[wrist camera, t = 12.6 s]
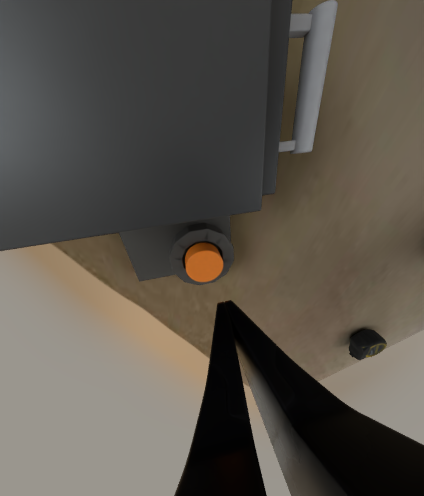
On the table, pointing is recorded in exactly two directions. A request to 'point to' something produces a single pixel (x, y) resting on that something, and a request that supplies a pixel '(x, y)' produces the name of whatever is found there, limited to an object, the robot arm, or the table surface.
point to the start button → (203, 262)
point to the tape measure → (366, 344)
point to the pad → (176, 247)
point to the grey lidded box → (129, 114)
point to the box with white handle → (310, 80)
